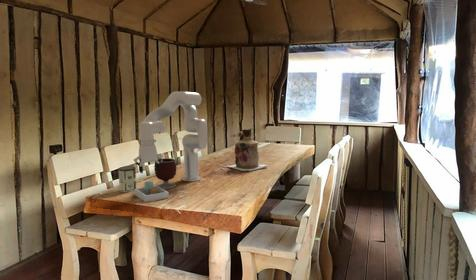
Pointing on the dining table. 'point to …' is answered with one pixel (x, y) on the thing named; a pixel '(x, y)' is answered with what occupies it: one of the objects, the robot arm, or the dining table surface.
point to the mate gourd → (166, 172)
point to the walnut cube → (153, 190)
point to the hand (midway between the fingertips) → (149, 171)
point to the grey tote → (146, 198)
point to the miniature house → (127, 178)
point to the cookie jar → (246, 153)
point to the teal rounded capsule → (148, 186)
